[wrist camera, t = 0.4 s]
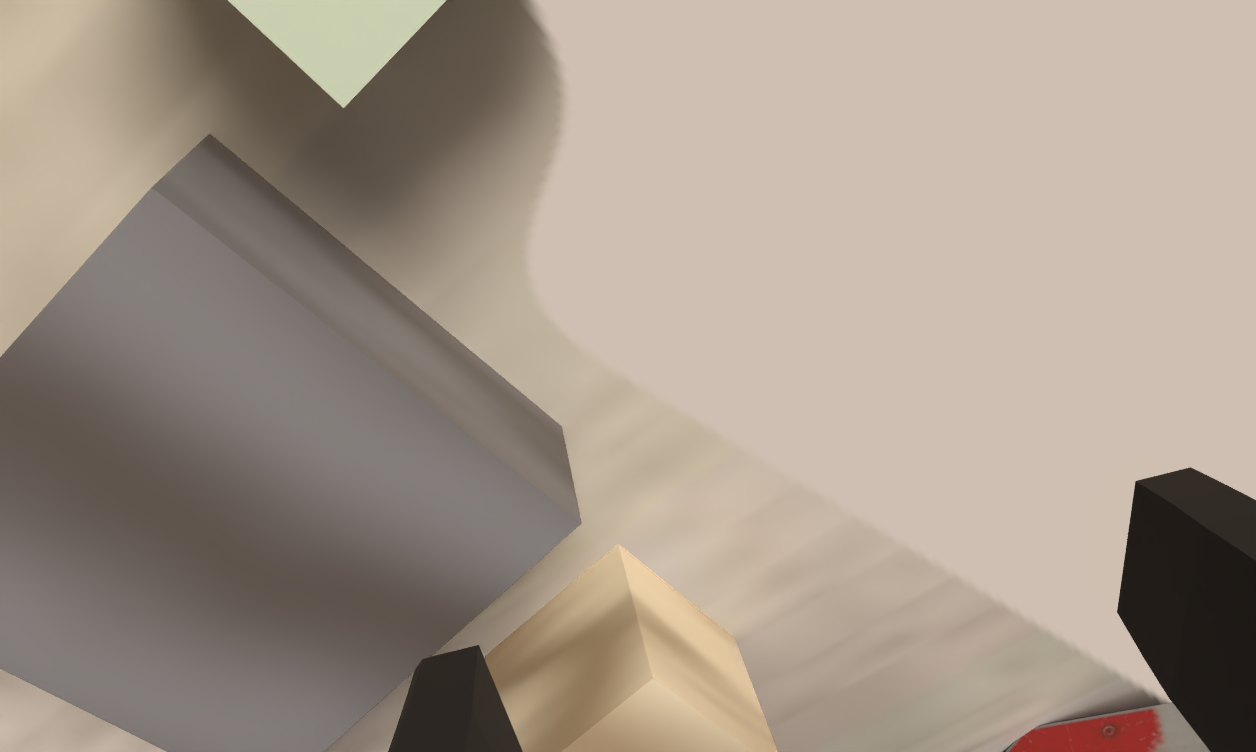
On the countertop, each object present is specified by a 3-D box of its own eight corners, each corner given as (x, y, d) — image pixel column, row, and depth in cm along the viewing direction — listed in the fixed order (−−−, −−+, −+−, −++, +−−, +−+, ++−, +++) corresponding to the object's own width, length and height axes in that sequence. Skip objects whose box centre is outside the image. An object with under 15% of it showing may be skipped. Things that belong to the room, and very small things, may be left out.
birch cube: (606, 736, 25) (635, 890, 21) (485, 654, 23) (491, 807, 19) (732, 635, 24) (787, 777, 20) (617, 541, 22) (652, 678, 19)
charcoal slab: (296, 662, 23) (266, 801, 19) (-72, 448, 19) (-192, 573, 15) (560, 419, 21) (581, 523, 17) (214, 129, 17) (151, 187, 14)
